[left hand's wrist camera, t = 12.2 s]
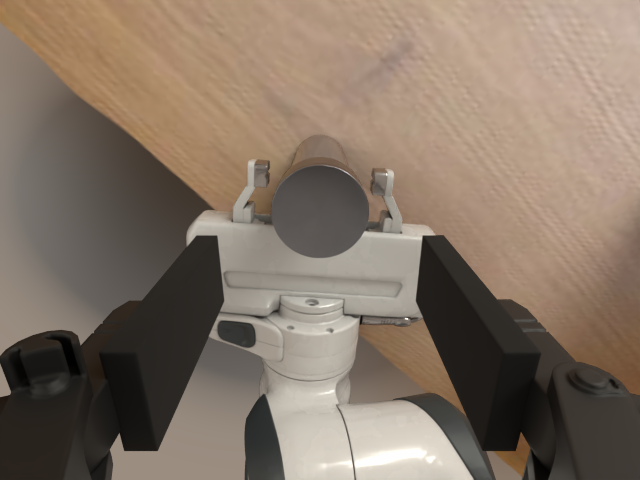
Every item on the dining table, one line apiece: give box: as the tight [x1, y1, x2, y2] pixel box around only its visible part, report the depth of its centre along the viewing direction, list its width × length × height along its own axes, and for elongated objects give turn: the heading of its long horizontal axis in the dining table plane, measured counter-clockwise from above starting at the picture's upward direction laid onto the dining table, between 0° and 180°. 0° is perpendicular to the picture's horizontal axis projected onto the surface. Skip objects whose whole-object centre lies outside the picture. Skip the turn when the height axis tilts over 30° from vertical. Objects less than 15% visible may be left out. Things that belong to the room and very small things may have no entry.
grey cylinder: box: [291, 135, 349, 167], centre depth 28 cm, size 4×4×16 cm
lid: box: [271, 157, 369, 258], centre depth 21 cm, size 5×5×2 cm
